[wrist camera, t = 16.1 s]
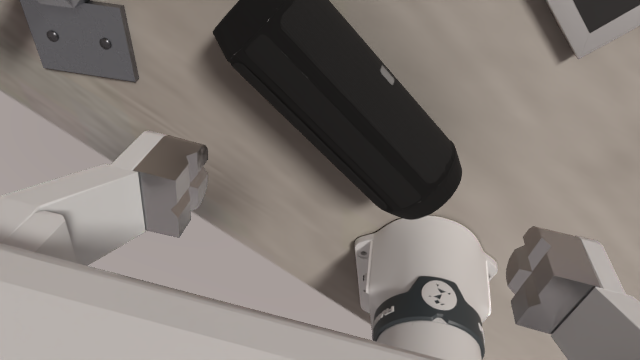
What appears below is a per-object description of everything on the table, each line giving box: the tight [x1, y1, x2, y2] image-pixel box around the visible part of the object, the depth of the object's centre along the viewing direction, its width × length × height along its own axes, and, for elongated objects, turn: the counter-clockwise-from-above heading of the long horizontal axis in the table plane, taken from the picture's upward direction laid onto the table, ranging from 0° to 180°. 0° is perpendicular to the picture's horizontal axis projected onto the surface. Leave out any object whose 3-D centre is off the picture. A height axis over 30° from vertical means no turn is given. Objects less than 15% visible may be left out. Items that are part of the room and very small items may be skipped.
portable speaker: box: [213, 0, 462, 220], centre depth 40 cm, size 26×10×10 cm, turn 44°
